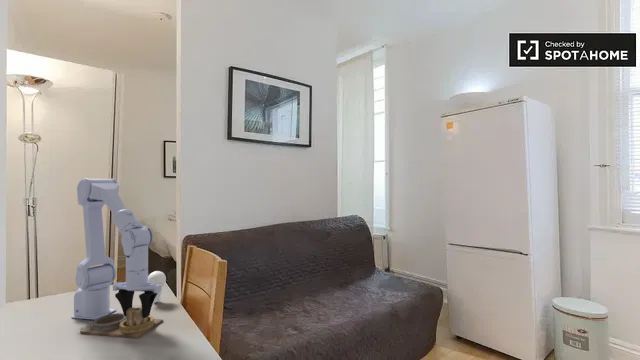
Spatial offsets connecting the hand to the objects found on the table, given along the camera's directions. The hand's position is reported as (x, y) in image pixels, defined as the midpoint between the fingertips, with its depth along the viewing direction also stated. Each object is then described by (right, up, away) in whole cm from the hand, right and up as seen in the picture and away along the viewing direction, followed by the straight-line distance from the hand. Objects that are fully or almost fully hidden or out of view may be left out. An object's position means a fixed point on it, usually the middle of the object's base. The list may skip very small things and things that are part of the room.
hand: (137, 315), depth 95 cm
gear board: (-4, -4, +1) cm, 6 cm away
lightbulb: (-5, -4, +21) cm, 22 cm away
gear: (0, -2, 0) cm, 2 cm away
